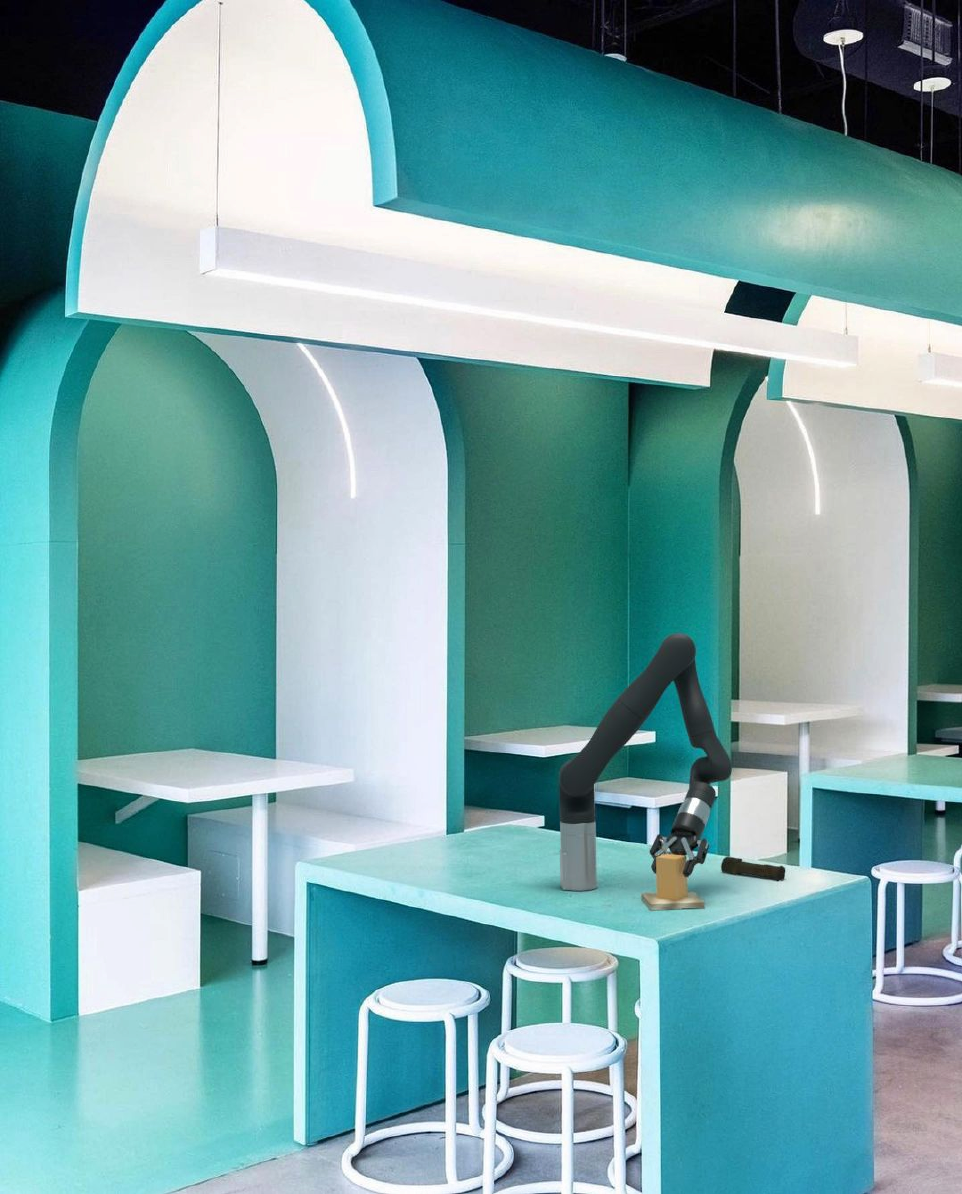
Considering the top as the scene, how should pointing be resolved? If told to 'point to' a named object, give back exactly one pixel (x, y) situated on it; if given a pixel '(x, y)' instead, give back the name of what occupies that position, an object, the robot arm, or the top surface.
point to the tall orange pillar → (671, 877)
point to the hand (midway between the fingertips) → (669, 873)
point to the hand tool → (751, 869)
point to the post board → (672, 902)
